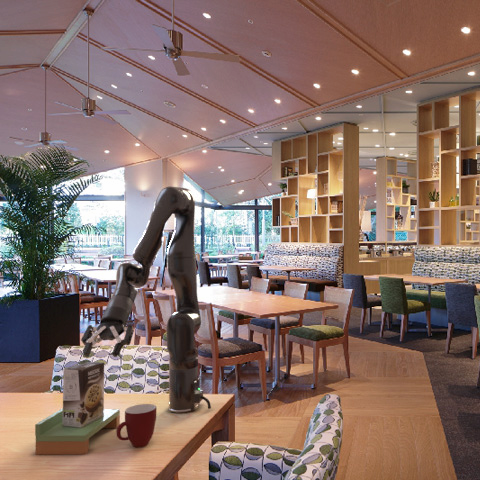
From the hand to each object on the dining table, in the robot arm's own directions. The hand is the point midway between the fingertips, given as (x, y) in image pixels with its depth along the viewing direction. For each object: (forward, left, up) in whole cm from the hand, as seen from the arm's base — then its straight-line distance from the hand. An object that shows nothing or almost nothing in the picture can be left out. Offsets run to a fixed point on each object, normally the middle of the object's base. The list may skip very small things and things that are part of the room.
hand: (100, 355), depth 148 cm
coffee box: (0, +9, -17) cm, 19 cm away
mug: (-17, +14, -22) cm, 31 cm away
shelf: (+1, +9, -22) cm, 23 cm away
